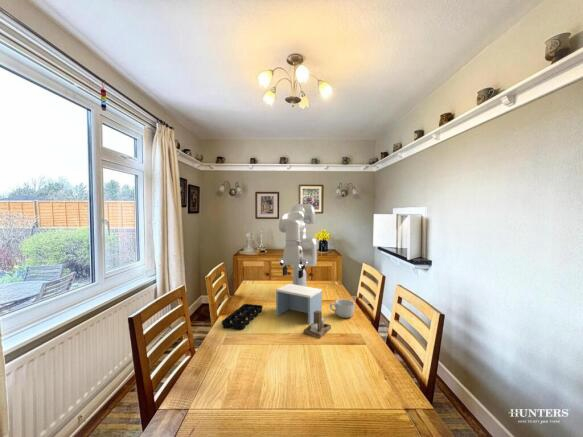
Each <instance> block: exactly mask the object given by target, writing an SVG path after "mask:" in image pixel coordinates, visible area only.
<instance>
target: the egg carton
mask: <svg viewBox="0 0 583 437" xmlns="http://www.w3.org/2000/svg"><path fill="white" fill-rule="evenodd" d="M262 312H263V305H262V304H261V305H260V304H252V303H244V304H242V305H241V306H239V307H238V308H237V309H236V310H234V311H233V312H232V313H230V314H229V315H228V316H227V317H225V318H224V319H223V320H222V321H221V325H222V328H223V329H227V330H228V329H229V330H230V329H233V330H234V329H235V331H244V330H245V328H246V326H249V325H250V322H252V321H254V319H255V318H257V317H258V316H259V314H261V313H262Z"/></svg>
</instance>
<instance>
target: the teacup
mask: <svg viewBox="0 0 583 437" xmlns="http://www.w3.org/2000/svg"><path fill="white" fill-rule="evenodd" d="M332 306H334V308H332ZM329 308H330V310H331V311H333V312H334V314H336V315H338V316H339V317H340V318H343V319H348V318H350V317H352V316H353V315H354V312H355V302H354V301H352V300H350V299H345V298H340V299H336V300H335V302H331V303H330V304H329Z"/></svg>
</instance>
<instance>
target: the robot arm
mask: <svg viewBox="0 0 583 437" xmlns="http://www.w3.org/2000/svg"><path fill="white" fill-rule="evenodd" d="M315 221H316V209H315V207H314V205H313V204H310V203H297V204H294V205H293V206H292V208H291V210H290V212H287V213H285V214H283V215H281V217H280V219H279V221H278V230H279V231H280V233H283V234H284V233H285V245H284V248H283V254H282V257H280V258H279V259H278V261H279V265H280V266H281V268H282V276H284V277H285V276H287V275H288V267H287V266H290V267H291V266H292V284H294V285H300V286H306V287H307V271H306V269H305V268H307V267H315V266H316V265H317V262H318V244H317V243H318V242H317V238H316V237H314V236H307V229H306V225H313V224H314V223H315Z"/></svg>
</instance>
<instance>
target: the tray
mask: <svg viewBox="0 0 583 437" xmlns="http://www.w3.org/2000/svg"><path fill="white" fill-rule="evenodd" d="M331 329H332V325H331V324H329V323H325V318H324V317H323V312H322V311H318V310H316V311H315V312H314V322H312V323H311V324H308V326H307V327H305V328H304V329H303V334H305V335H308V336H312V337H315V338H317V339H318V338H319V339H322V337H324V336H325V335H326V334H327V333H328V332H329V331H330V330H331Z"/></svg>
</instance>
